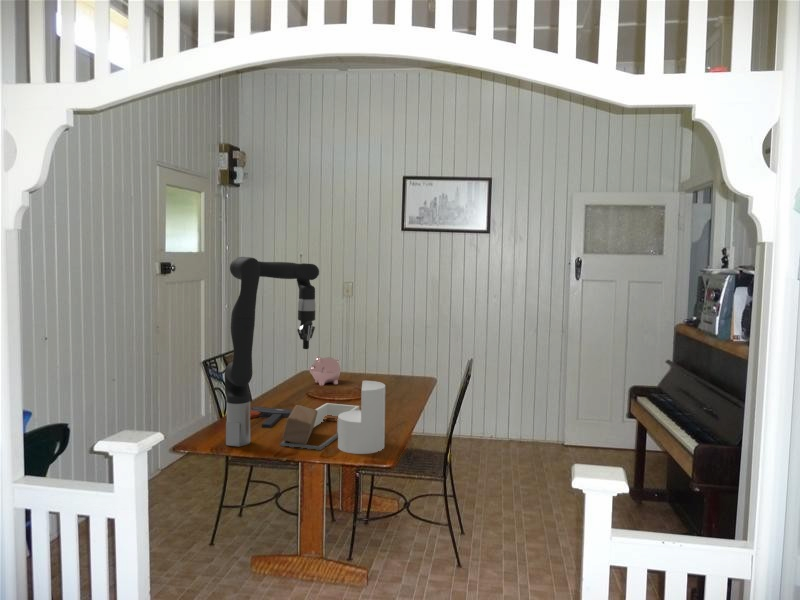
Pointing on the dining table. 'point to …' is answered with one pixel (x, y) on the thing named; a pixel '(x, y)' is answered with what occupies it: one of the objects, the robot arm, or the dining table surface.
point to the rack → (332, 411)
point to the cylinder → (364, 422)
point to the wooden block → (299, 425)
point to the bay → (285, 443)
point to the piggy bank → (325, 370)
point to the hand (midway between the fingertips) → (305, 348)
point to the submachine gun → (269, 415)
